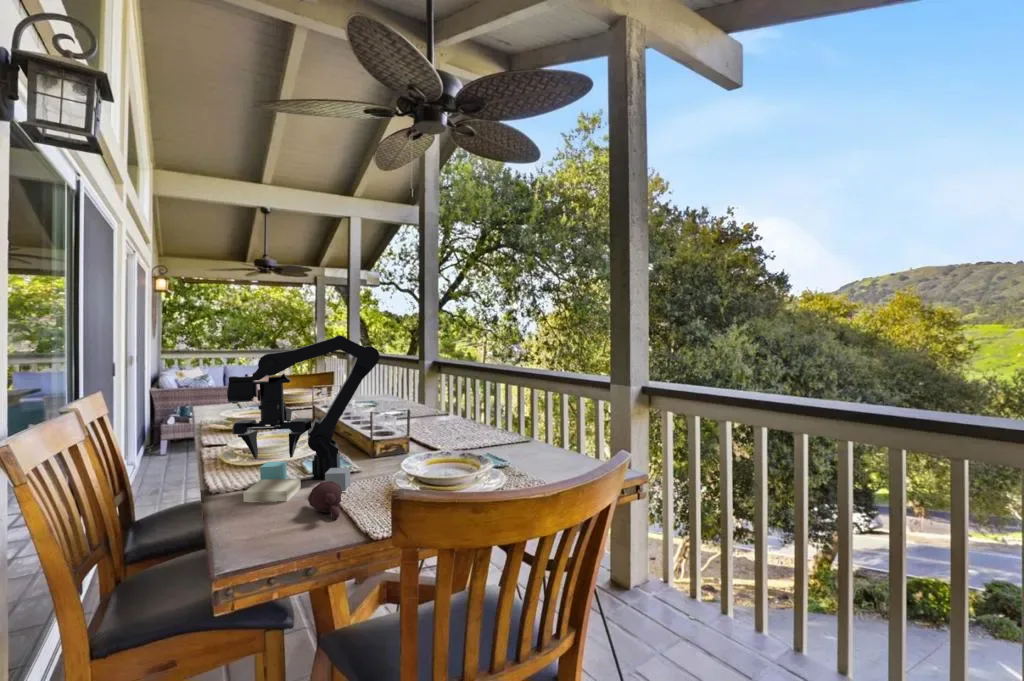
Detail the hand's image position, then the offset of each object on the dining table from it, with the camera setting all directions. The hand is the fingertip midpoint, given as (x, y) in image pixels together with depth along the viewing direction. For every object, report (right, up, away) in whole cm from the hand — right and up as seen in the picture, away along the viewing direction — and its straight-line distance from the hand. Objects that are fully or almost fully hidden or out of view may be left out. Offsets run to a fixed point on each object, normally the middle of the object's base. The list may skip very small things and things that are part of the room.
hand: (273, 457), depth 140 cm
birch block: (+5, -7, -10) cm, 14 cm away
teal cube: (0, -7, 0) cm, 7 cm away
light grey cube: (+19, -7, -6) cm, 22 cm away
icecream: (+22, -7, -22) cm, 32 cm away
